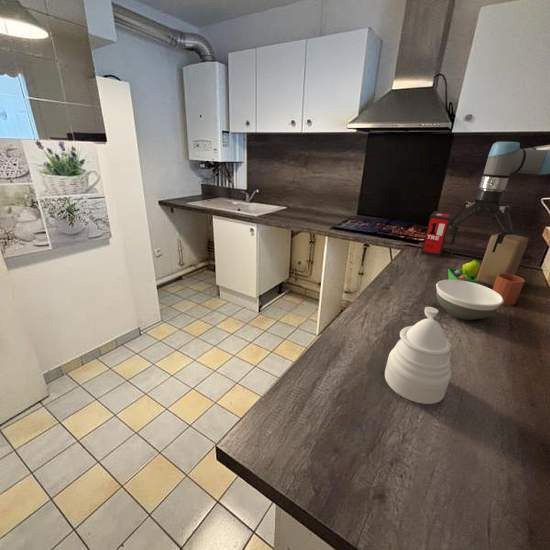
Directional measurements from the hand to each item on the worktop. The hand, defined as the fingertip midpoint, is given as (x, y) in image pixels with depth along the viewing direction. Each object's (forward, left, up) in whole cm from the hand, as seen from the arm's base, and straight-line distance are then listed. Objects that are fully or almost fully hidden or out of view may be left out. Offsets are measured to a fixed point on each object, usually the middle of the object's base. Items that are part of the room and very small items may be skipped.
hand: (472, 247), depth 111 cm
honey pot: (-1, +69, -17) cm, 71 cm away
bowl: (-4, +25, -17) cm, 30 cm away
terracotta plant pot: (-14, +3, -16) cm, 22 cm away
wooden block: (-10, -14, -17) cm, 24 cm away
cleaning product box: (+20, -42, -17) cm, 49 cm away
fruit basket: (0, 0, -17) cm, 17 cm away
